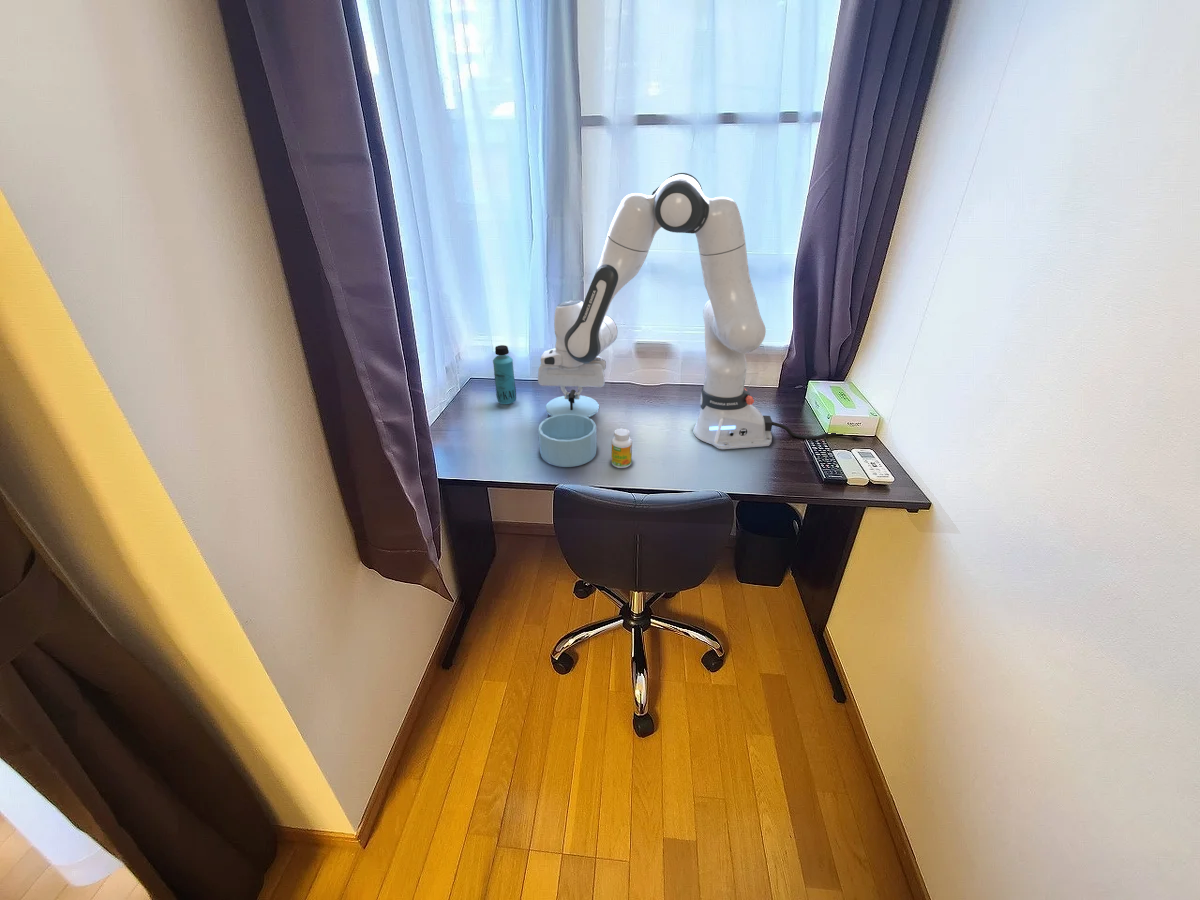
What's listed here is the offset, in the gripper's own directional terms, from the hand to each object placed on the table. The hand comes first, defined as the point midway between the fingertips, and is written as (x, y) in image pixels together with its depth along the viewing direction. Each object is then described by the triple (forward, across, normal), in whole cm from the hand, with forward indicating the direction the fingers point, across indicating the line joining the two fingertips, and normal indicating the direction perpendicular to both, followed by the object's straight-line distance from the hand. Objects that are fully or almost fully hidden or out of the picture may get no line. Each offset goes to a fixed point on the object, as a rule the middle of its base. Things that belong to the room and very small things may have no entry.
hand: (572, 398), depth 156 cm
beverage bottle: (+7, +23, -8) cm, 25 cm away
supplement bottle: (+7, -16, +26) cm, 31 cm away
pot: (+7, -1, +21) cm, 22 cm away
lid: (+3, 0, 0) cm, 3 cm away
